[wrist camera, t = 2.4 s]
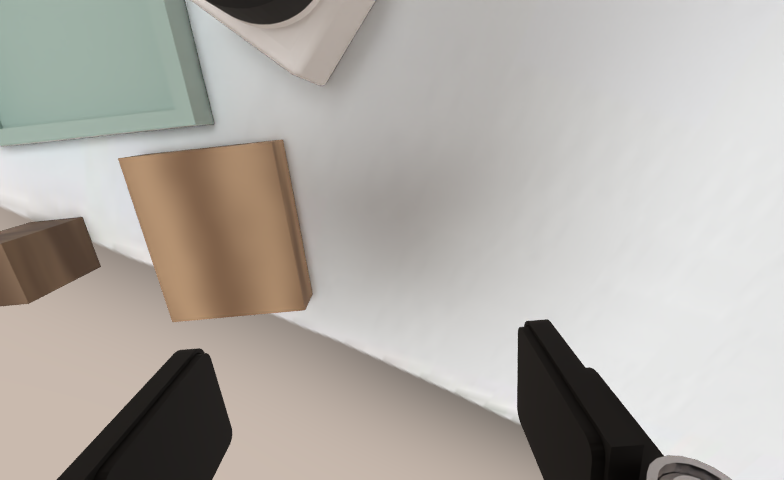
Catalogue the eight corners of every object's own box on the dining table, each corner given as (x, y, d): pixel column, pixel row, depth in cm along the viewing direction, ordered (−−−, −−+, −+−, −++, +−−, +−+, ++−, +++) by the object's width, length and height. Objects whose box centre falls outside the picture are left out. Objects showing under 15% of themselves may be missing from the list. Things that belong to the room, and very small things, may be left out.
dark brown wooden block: (82, 217, 28) (0, 243, 22) (100, 266, 29) (28, 303, 23) (30, 222, 28) (-64, 249, 22) (51, 271, 29) (-33, 309, 23)
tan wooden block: (284, 139, 26) (271, 142, 23) (313, 291, 30) (305, 310, 27) (147, 154, 27) (118, 158, 24) (193, 302, 30) (172, 322, 27)
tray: (146, -157, 21) (114, -192, 18) (214, 124, 25) (195, 124, 23) (-108, -122, 21) (-171, -151, 19) (5, 146, 26) (-34, 149, 24)
